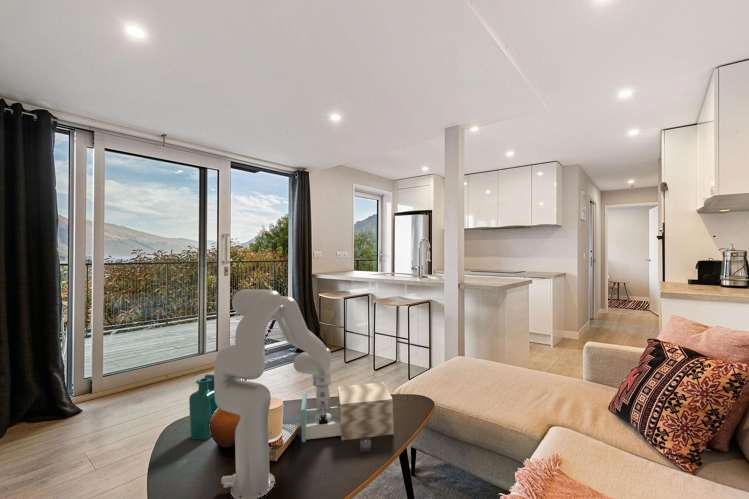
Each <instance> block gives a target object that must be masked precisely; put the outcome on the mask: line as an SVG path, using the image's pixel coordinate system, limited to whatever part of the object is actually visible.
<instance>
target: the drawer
mask: <svg viewBox="0 0 749 499" xmlns="http://www.w3.org/2000/svg"><path fill="white" fill-rule="evenodd" d="M307 393H308V392H307V390H303V391H302V397H301V407H300V420H301V421H300V422H301V428H300V429H301V443H306V442H307V441H306V440H311V439H312V440H313V439H323V438H330V437H336V436H337V437H341V410H340V406H339V405H338V406H330V411H327V413H329V414H331V422H330V423H328V424H320V425H319V424H317V423H315V416H316V415H318V414H319V412H318V409H317V408H310V409H308V402H307V401H308V398H307V396H308V394H307ZM320 411H321V410H320Z"/></svg>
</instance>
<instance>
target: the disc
mask: <svg viewBox="0 0 749 499" xmlns="http://www.w3.org/2000/svg"><path fill="white" fill-rule="evenodd" d="M319 419H320V414H318V415H316V416H315V423H317V424H319ZM327 421H328V423H330V422H331V414H329V413H327Z"/></svg>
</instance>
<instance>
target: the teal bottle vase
mask: <svg viewBox="0 0 749 499" xmlns="http://www.w3.org/2000/svg"><path fill="white" fill-rule="evenodd" d="M195 384H198V385H197V386H198V388H197V390H196V391H195V392H193V393H191V394H190V396H189V400H188V402H189V405H188V406H189V407H188V408H189V436H190V439H191V438H194V439H193V440H198V439H206V440H209V439H211V438H212V437H211V433H210V427H209V424H210V419H211V417H212V415H213V413H214V411H215V410H216V409H217V408H218V407H217V405H216V402H215V395H214V374H209V373H208V374H207V373H206V374H205V375H204V377H203V378H198V379H197V380H195ZM218 409H219V408H218ZM208 438H209V439H208Z"/></svg>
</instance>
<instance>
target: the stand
mask: <svg viewBox="0 0 749 499" xmlns="http://www.w3.org/2000/svg"><path fill="white" fill-rule="evenodd" d="M371 451H372V439H371V437H362V438H359V452H360V453H363V454H367V453H370V452H371Z"/></svg>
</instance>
